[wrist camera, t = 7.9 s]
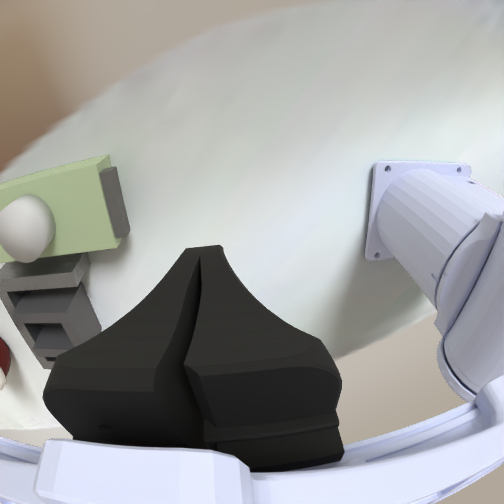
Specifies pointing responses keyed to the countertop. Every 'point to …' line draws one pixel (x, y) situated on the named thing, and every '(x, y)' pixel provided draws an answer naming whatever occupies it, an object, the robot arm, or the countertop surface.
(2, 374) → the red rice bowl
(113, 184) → the pale green flat plate
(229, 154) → the countertop surface
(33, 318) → the chute
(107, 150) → the countertop surface
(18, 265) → the chute mount
